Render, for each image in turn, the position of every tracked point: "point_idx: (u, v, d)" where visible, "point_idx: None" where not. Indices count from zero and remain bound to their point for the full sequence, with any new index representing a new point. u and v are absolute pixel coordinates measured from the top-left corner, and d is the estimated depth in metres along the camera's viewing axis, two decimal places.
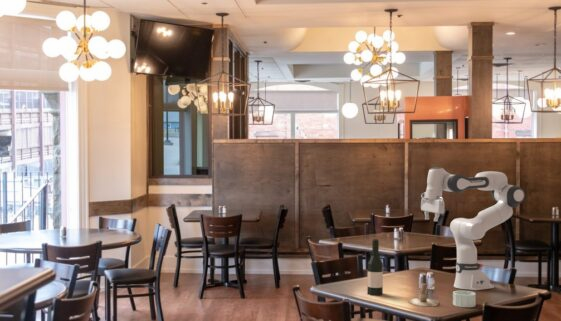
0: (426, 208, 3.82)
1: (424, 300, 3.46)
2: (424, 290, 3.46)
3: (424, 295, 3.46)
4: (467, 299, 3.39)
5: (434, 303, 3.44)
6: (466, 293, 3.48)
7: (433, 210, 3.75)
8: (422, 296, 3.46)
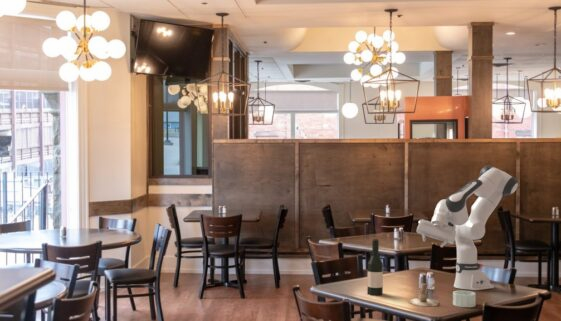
0: None
1: (424, 300, 3.46)
2: (424, 290, 3.46)
3: (424, 295, 3.46)
4: (467, 299, 3.39)
5: (434, 303, 3.44)
6: (466, 293, 3.48)
7: None
8: (422, 296, 3.46)
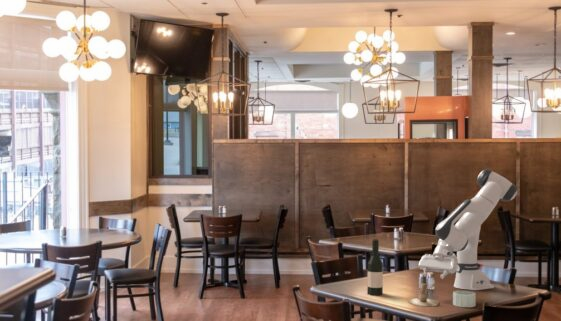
0: None
1: (424, 300, 3.46)
2: (424, 290, 3.46)
3: (424, 295, 3.46)
4: (467, 299, 3.39)
5: (434, 303, 3.44)
6: (466, 293, 3.48)
7: None
8: (422, 296, 3.46)
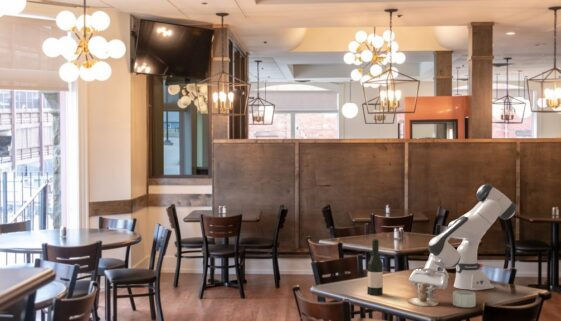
0: None
1: (424, 299, 3.46)
2: (424, 289, 3.46)
3: (424, 294, 3.46)
4: (467, 299, 3.39)
5: (434, 302, 3.44)
6: (466, 293, 3.48)
7: None
8: (422, 295, 3.46)
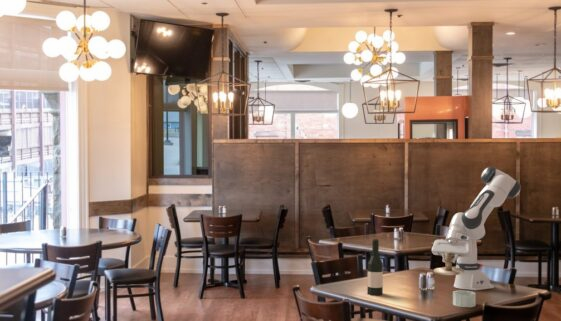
0: None
1: (450, 269, 3.43)
2: (449, 258, 3.43)
3: (449, 263, 3.43)
4: (467, 299, 3.39)
5: (460, 271, 3.41)
6: (466, 293, 3.48)
7: None
8: (447, 265, 3.43)
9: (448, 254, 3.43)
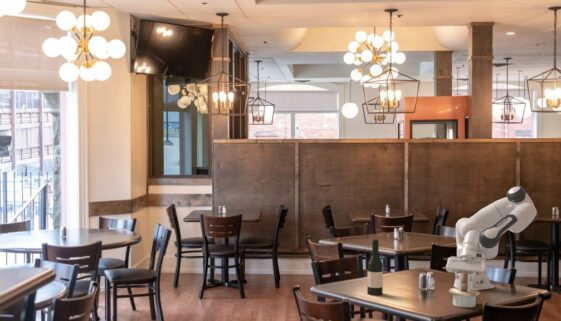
0: None
1: (465, 289, 3.43)
2: (465, 279, 3.43)
3: (465, 284, 3.43)
4: (467, 299, 3.39)
5: (476, 292, 3.41)
6: None
7: None
8: (463, 285, 3.43)
9: (464, 275, 3.43)
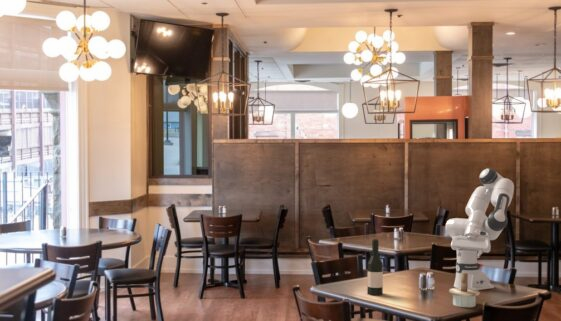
0: None
1: (465, 289, 3.43)
2: (465, 279, 3.43)
3: (465, 284, 3.43)
4: (467, 299, 3.39)
5: (476, 292, 3.41)
6: None
7: None
8: (463, 285, 3.43)
9: (464, 275, 3.43)
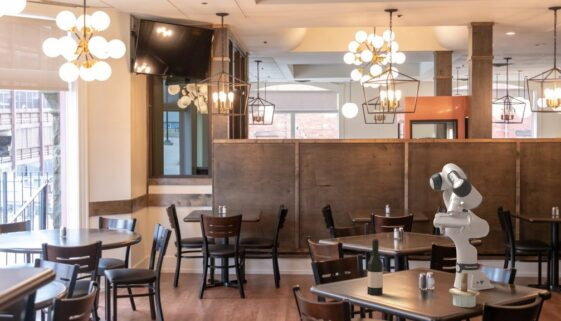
0: None
1: (465, 289, 3.43)
2: (465, 279, 3.43)
3: (465, 284, 3.43)
4: (467, 299, 3.39)
5: (476, 292, 3.41)
6: None
7: None
8: (463, 285, 3.43)
9: (464, 275, 3.43)
